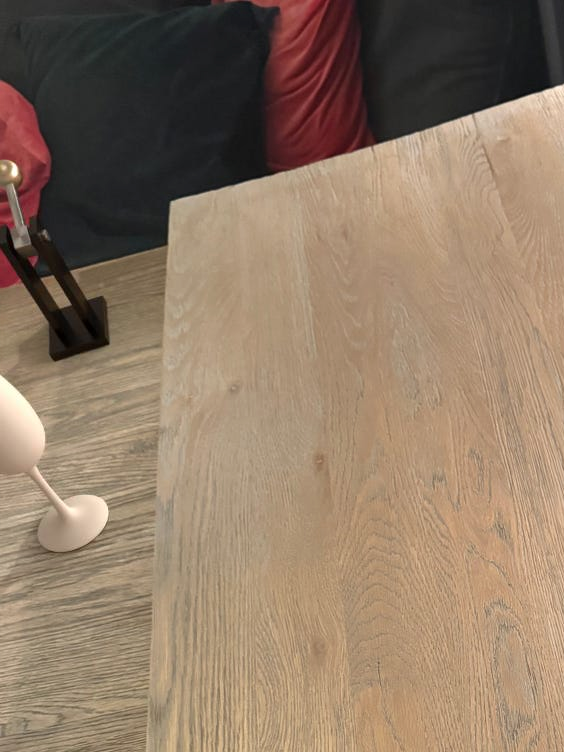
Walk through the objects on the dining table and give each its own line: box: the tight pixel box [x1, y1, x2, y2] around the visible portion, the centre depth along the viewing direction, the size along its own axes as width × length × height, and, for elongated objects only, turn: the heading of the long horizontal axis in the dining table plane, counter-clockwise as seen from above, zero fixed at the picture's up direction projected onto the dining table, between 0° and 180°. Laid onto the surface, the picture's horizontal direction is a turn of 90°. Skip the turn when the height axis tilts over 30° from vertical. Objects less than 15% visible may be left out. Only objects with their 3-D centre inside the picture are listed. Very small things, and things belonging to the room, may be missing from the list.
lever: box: [0, 159, 41, 259], centre depth 121 cm, size 13×4×4 cm, turn 17°
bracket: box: [0, 214, 110, 362], centre depth 126 cm, size 10×8×16 cm
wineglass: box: [0, 374, 109, 553], centre depth 102 cm, size 9×9×21 cm
